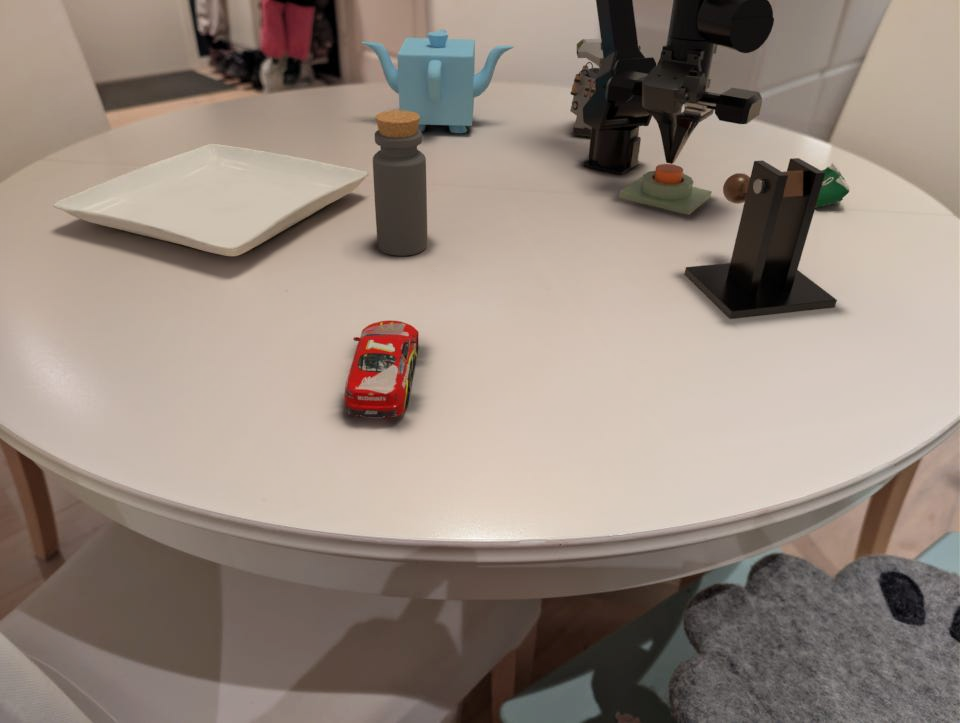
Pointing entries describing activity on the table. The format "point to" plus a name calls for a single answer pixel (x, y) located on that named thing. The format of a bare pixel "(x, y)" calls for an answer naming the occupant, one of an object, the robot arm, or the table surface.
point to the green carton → (832, 187)
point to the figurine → (586, 82)
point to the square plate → (215, 197)
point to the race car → (382, 370)
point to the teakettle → (438, 78)
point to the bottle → (400, 184)
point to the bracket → (768, 249)
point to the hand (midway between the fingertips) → (670, 162)
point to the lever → (739, 183)
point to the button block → (666, 194)
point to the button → (668, 174)
